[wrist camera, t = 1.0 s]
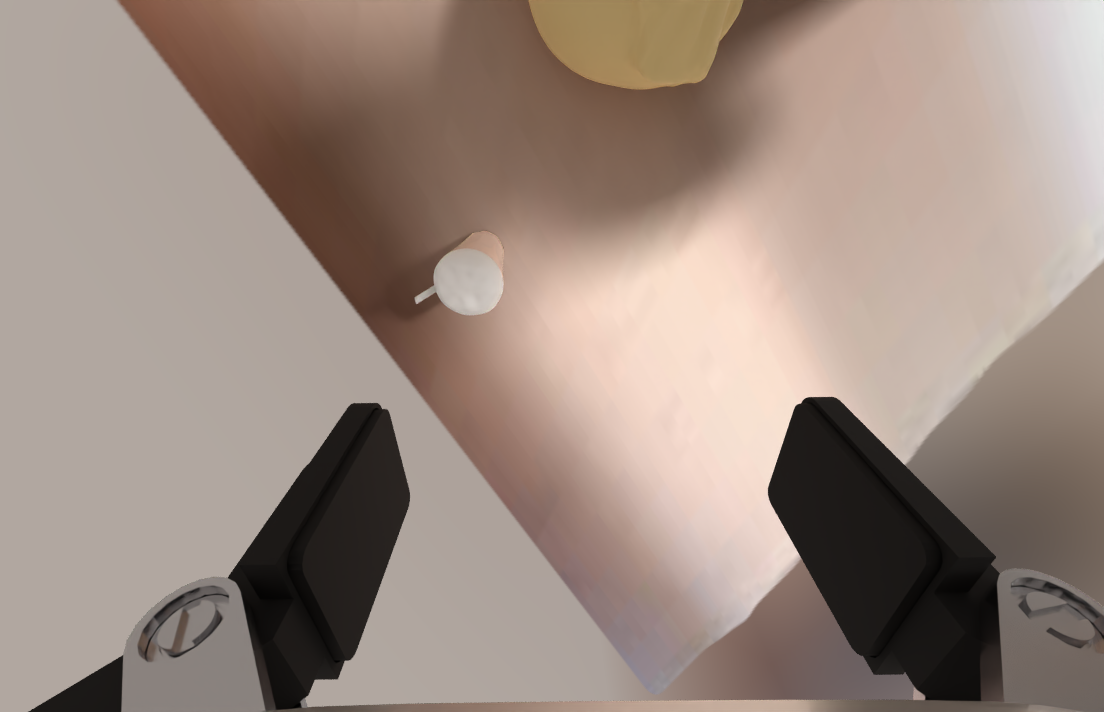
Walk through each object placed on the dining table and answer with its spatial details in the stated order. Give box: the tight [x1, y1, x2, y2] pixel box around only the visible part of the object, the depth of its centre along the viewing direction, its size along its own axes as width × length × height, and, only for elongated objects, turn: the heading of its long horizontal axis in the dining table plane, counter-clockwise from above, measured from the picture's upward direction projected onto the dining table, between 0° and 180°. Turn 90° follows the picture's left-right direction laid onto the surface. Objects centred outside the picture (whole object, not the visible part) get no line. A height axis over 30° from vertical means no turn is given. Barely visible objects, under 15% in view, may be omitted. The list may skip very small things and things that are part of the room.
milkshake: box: [414, 231, 504, 315], centre depth 31 cm, size 5×5×10 cm
